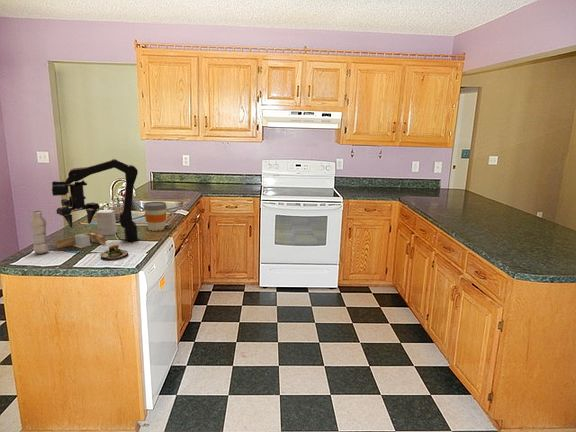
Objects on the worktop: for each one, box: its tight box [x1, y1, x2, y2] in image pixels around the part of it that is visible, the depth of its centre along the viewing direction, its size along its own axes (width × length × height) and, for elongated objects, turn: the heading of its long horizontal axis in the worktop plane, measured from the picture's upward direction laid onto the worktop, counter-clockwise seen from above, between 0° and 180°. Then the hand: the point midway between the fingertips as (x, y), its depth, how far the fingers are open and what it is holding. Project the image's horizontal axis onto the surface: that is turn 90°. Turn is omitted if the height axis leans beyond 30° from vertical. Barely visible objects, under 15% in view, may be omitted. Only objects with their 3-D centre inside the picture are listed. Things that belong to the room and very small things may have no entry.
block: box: [74, 233, 91, 248], centre depth 199 cm, size 4×6×5 cm, turn 57°
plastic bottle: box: [29, 210, 50, 255], centre depth 185 cm, size 6×7×20 cm
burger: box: [100, 240, 129, 260], centre depth 184 cm, size 12×12×8 cm
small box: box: [95, 209, 118, 236], centre depth 219 cm, size 8×6×13 cm
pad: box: [73, 243, 92, 249], centre depth 200 cm, size 6×6×1 cm
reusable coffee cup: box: [143, 201, 167, 232], centre depth 231 cm, size 13×13×15 cm
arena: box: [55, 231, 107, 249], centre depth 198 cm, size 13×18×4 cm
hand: (80, 225), depth 197 cm, fingers open, 9 cm apart
